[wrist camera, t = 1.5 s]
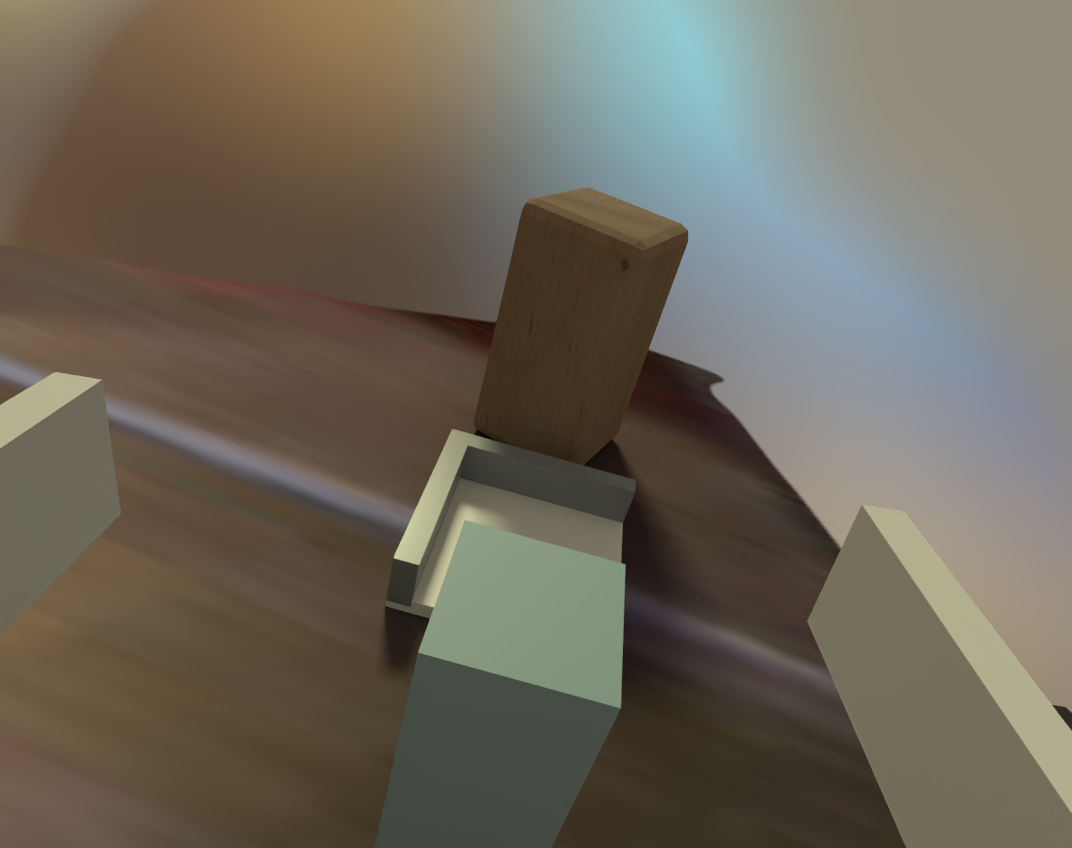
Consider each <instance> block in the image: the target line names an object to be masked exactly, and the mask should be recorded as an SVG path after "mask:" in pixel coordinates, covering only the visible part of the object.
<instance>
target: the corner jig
mask: <svg viewBox="0 0 1072 848" xmlns="http://www.w3.org/2000/svg"><path fill="white" fill-rule="evenodd" d="M635 486H636V480H634V479H630V478H627V477H623V476H619V475H616V474H612V473H609V472H605V471H601V470H598V469H594V468H591V467H587V466H584V465H580V464H576V463H573V462H569V461H566V460H562V459H558V458H555V457H551V456H548V455H544V454H540V453H537V452H533V451H530V450H526V449H523V448H519V447H515V446H512V445H508V444H505V443H501V442H497V441H494V440H490V439H487V438H483V437H479V436H476V435H472V434H469V433H465V432H461V431H458V430H454V429H452V431H451V433H450V435H449V438H448V440H447V442H446V444H445V446H444V449H443V451H442V453H441V455H440V457H439V459H438V462H437V464H436V466H435V468H434V470H433V473H432V475H431V477H430V479H429V481H428V484H427V486H426V488H425V490H424V492H423V494H422V497H421V499H420V501H419V503H418V505H417V508H416V510H415V512H414V514H413V516H412V519H411V521H410V523H409V525H408V527H407V529H406V532H405V534H404V536H403V538H402V540H401V543H400V545H399V547H398V549H397V551H396V554H395V556H394V558H393V563H392V569H391V575H390V581H389V586H388V592H387V598H386V604H385V606H386V607H390V608H394V609H397V610H401V611H404V612H408V613H412V614H415V615H419V616H423V617H426V618H430V617H431V615H432V612H433V609H434V606H435V603H436V600H437V597H438V595H439V592H440V589H441V586H442V583H443V580H444V578H445V575H446V572H447V569H448V566H449V563H450V560H451V558H452V555H453V552H454V549H455V546H456V543H457V541H458V538H459V535H460V532H461V529H462V526H463V524H464V521H465V520H467V521H471V522H474V523H478V524H482V525H485V526H489V527H492V528H496V529H500V530H503V531H507V532H510V533H514V534H518V535H521V536H525V537H528V538H532V539H536V540H539V541H543V542H546V543H550V544H554V545H557V546H561V547H565V548H568V549H572V550H575V551H579V552H583V553H586V554H590V555H593V556H597V557H601V558H604V559H608V560H611V561H615V562H619V563H621V556H622V531H623V521H624V519H625V516H626V514H627V512H628V509H629V507H630V504H631V502H632V499H633V497H634V494H635Z"/></svg>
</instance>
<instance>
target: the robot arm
mask: <svg viewBox="0 0 1072 848" xmlns="http://www.w3.org/2000/svg"><path fill="white" fill-rule="evenodd" d="M120 514H121V512H120V505H119V498H118V490H117V483H116V476H115V469H114V462H113V455H112V448H111V441H110V433H109V426H108V419H107V412H106V405H105V398H104V391H103V384H102V380H100V379H94V378H88V377H82V376H76V375H70V374H64V373H58V372H55V373H53V374H51V375H50V376H48V377H46V378H45V379H43V380H41V381H40V382H38V383H36V384H35V385H33V386H31V387H30V388H28V389H26V390H25V391H23V392H21V393H20V394H18V395H16V396H14V397H13V398H11V399H9V400H8V401H6V402H4V403H3V404H1V405H0V635H1V634H2V633H3V632H4V631H5V630H6V629H7V628H8V627H9V626H10V625H11V624H12V623H13V622H14V621H15V620H16V619H17V618H18V617H19V616H20V615H21V614H22V613H23V612H24V611H25V610H26V609H27V608H28V607H29V606H30V605H31V604H32V603H33V602H34V601H35V600H36V599H37V598H38V597H39V596H40V595H41V594H42V593H43V592H44V591H45V590H46V589H47V588H48V587H49V586H50V585H51V584H52V583H53V582H54V581H55V580H56V579H57V578H58V577H59V576H60V575H61V574H62V573H63V572H64V571H65V570H66V569H67V568H68V567H69V566H70V565H71V564H72V563H73V562H74V561H75V560H76V559H77V558H78V557H79V556H80V555H81V554H82V553H83V552H84V551H85V550H86V549H87V548H88V547H89V546H90V544H91V543H92V542H93V541H94V540H95V539H96V538H97V537H98V536H99V535H100V534H101V533H102V532H103V531H104V530H105V529H106V528H107V527H108V526H109V525H110V524H111V523H112V522H113V521H114V520H115V519H116V518H117V517H118V516H119V515H120ZM807 622H808V624H809V626H810V628H811V631H812V633H813V635H814V638H815V640H816V642H817V644H818V647H819V649H820V651H821V654H822V656H823V658H824V660H825V663H826V665H827V667H828V670H829V672H830V674H831V676H832V679H833V681H834V683H835V686H836V688H837V690H838V692H839V695H840V697H841V699H842V702H843V704H844V706H845V709H846V711H847V713H848V715H849V718H850V720H851V722H852V725H853V727H854V729H855V731H856V734H857V736H858V738H859V741H860V743H861V745H862V747H863V750H864V752H865V754H866V757H867V759H868V761H869V763H870V766H871V768H872V770H873V773H874V775H875V777H876V779H877V782H878V784H879V786H880V789H881V791H882V793H883V795H884V798H885V800H886V802H887V805H888V807H889V809H890V811H891V814H892V816H893V818H894V821H895V823H896V825H897V828H898V830H899V832H900V834H901V837H902V839H903V841H904V844H905V846H906V848H1072V713H1071V712H1070V711H1069V710H1068V709H1067V708H1065V707H1061V706H1055V705H1051V703H1050V702H1049V701H1048V699H1047V698H1046V697H1045V695H1044V694H1043V693H1042V691H1041V690H1040V689H1039V687H1038V686H1037V685H1036V684H1035V682H1034V681H1033V680H1032V678H1031V677H1030V676H1029V674H1028V673H1027V672H1026V670H1025V669H1024V668H1023V666H1022V665H1021V664H1020V663H1019V661H1018V660H1017V659H1016V657H1015V656H1014V655H1013V653H1012V652H1011V651H1010V649H1009V648H1008V647H1007V646H1006V644H1005V643H1004V642H1003V640H1002V639H1001V638H1000V636H999V635H998V634H997V633H996V631H995V630H994V628H993V627H992V626H991V625H990V623H989V622H988V621H987V619H986V618H985V617H984V615H983V614H982V613H981V612H980V610H979V609H978V608H977V606H976V605H975V604H974V602H973V601H972V600H971V598H970V597H969V596H968V595H967V593H966V592H965V590H963V588H962V587H961V585H960V584H959V583H958V581H957V580H956V579H955V578H954V576H953V575H952V574H951V572H950V571H949V570H948V568H947V567H946V566H945V564H944V563H943V562H942V560H941V559H940V558H939V557H938V555H937V554H936V553H935V551H934V550H933V549H932V547H931V546H930V545H929V543H928V542H927V541H926V539H925V538H924V537H923V535H922V534H921V533H920V532H919V530H918V529H917V528H916V526H915V525H914V524H913V522H912V521H911V520H910V519H909V517H908V516H907V515H906V513H905V512H904V511H898V510H892V509H886V508H880V507H874V506H868V505H862V506H861V508H860V510H859V512H858V514H857V516H856V519H855V521H854V523H853V525H852V527H851V529H850V531H849V534H848V536H847V538H846V540H845V542H844V544H843V546H842V548H841V551H840V553H839V555H838V557H837V559H836V561H835V563H834V565H833V568H832V570H831V572H830V574H829V576H828V578H827V580H826V583H825V585H824V587H823V589H822V591H821V593H820V595H819V598H818V600H817V602H816V604H815V606H814V608H813V610H812V612H811V615H810V617H809V619H808V621H807Z"/></svg>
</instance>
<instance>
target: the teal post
mask: <svg viewBox="0 0 1072 848" xmlns="http://www.w3.org/2000/svg"><path fill="white" fill-rule="evenodd" d="M625 566H626V564H622V563H619V562H615V561H611V560H608V559H604V558H601V557H597V556H593V555H590V554H586V553H583V552H579V551H575V550H572V549H568V548H565V547H561V546H557V545H554V544H550V543H546V542H543V541H539V540H536V539H532V538H528V537H525V536H521V535H518V534H514V533H510V532H507V531H503V530H500V529H496V528H492V527H489V526H485V525H482V524H478V523H474V522H471V521H467V520H465V521H464V524H463V526H462V529H461V532H460V535H459V538H458V541H457V543H456V546H455V549H454V552H453V555H452V558H451V560H450V563H449V566H448V569H447V572H446V575H445V578H444V580H443V583H442V586H441V589H440V592H439V595H438V597H437V600H436V603H435V606H434V609H433V612H432V615H431V617H430V620H429V623H428V626H427V629H426V632H425V634H424V637H423V640H422V643H421V646H420V649H419V652H418V655H417V660H416V664H415V669H414V673H413V678H412V682H411V687H410V691H409V696H408V700H407V705H406V709H405V714H404V718H403V722H402V727H401V731H400V736H399V740H398V745H397V749H396V754H395V758H394V763H393V767H392V772H391V776H390V781H389V785H388V790H387V794H386V799H385V803H384V807H383V812H382V816H381V821H380V825H379V830H378V834H377V839H376V843H375V848H551V847H552V845H553V843H554V841H555V839H556V837H557V835H558V833H559V831H560V829H561V827H562V825H563V823H564V821H565V819H566V817H567V815H568V813H569V811H570V809H571V807H572V805H573V803H574V801H575V799H576V797H577V795H578V793H579V791H580V789H581V787H582V785H583V783H584V781H585V779H586V777H587V775H588V773H589V771H590V769H591V767H592V765H593V763H594V761H595V759H596V757H597V755H598V753H599V751H600V749H601V747H602V745H603V743H604V741H605V739H606V737H607V735H608V733H609V731H610V729H611V727H612V725H613V723H614V721H615V719H616V717H617V715H618V713H619V711H620V709H621V688H622V657H623V627H624V596H625Z"/></svg>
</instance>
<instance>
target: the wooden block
mask: <svg viewBox="0 0 1072 848" xmlns="http://www.w3.org/2000/svg"><path fill="white" fill-rule="evenodd" d="M687 242H688V230H687V229H686V228H684V227H683V225H682V224H680V223H678V222H675V221H673V220H670V219H668V218H665V217H662V216H660V215H657V214H654V213H652V212H650V211H647V210H645V209H642V208H640V207H637V206H635V205H632V204H629V203H627V202H624V201H622V200H619V199H616V198H614V197H612V196H609V195H606V194H604V193H601V192H599V191H596V190H594V189H591V188H580V189H576V190H571V191H567V192H561V193H557V194H552V195H548V196H543V197H538V198H534V199H529V200H528V201H527V203H526V204H525V206H524V208H523V210H522V213H521V217H520V221H519V226H518V231H517V235H516V239H515V243H514V248H513V252H512V257H511V261H510V266H509V270H508V274H507V279H506V283H505V288H504V292H503V296H502V301H501V305H500V309H499V314H498V318H497V323H496V327H495V331H494V336H493V340H492V345H491V349H490V353H489V358H488V362H487V367H486V371H485V375H484V380H483V384H482V389H481V393H480V397H479V402H478V406H477V411H476V415H475V419H474V423H475V427H476V428H477V429H478V430H479V431H480V432H481V433H483V434H485V435H487V436H488V437H490V438H492V439H494V440H496V441H497V442H501V443H505V444H508V445H512V446H515V447H519V448H523V449H526V450H530V451H533V452H537V453H540V454H544V455H548V456H551V457H555V458H558V459H562V460H566V461H569V462H573V463H576V464H580V465H585V464H586V463H587V462H588V461H589V460H590V459H591V458H592V457H593V456H594V455H595V454H596V453H597V452H599V451H600V450H601V449H602V448H603V447H604V446H605V445H606V444H607V443H608V442H609V441H610V440H612V439H613V438H614V437H615V436H616V435H617V434H618V431H619V428H620V425H621V423H622V420H623V417H624V414H625V412H626V409H627V406H628V404H629V401H630V398H631V395H632V393H633V390H634V387H635V384H636V382H637V379H638V376H639V374H640V371H641V368H642V365H643V363H644V360H645V357H646V354H647V352H648V349H649V346H650V344H651V341H652V338H653V335H654V333H655V330H656V327H657V324H658V321H659V319H660V316H661V314H662V311H663V308H664V305H665V302H666V300H667V297H668V294H669V292H670V289H671V286H672V284H673V281H674V278H675V275H676V273H677V270H678V267H679V265H680V262H681V259H682V256H683V254H684V251H685V248H686V245H687Z"/></svg>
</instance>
